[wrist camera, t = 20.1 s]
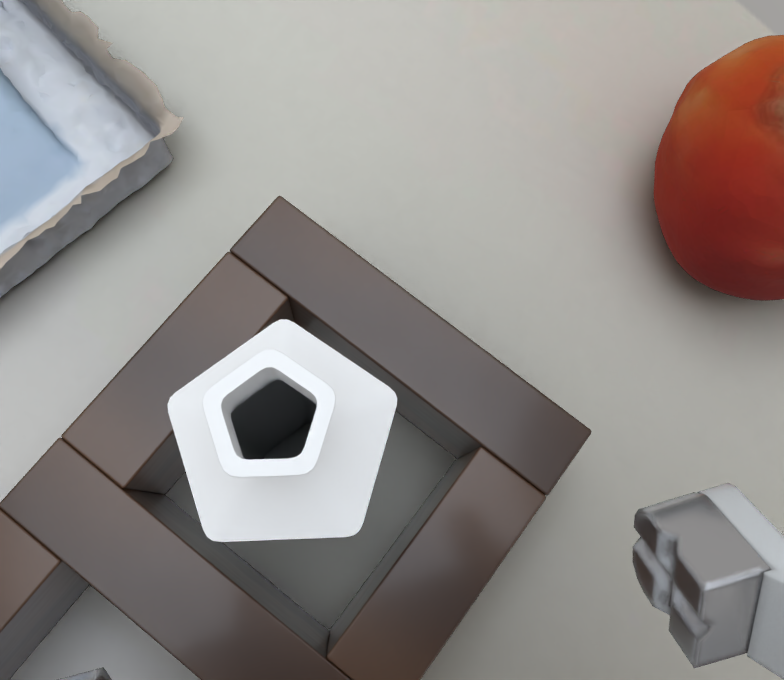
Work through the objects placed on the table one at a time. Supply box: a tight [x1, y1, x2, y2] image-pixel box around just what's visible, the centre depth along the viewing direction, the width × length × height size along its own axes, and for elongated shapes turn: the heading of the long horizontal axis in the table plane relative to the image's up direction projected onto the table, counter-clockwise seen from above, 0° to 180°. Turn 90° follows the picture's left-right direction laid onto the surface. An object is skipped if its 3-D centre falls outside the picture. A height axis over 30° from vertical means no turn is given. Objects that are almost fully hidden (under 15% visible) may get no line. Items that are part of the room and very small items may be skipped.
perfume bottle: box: [167, 319, 397, 542], centre depth 19 cm, size 5×4×15 cm
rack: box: [0, 196, 591, 680], centre depth 23 cm, size 22×12×5 cm, turn 142°
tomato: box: [654, 35, 784, 300], centre depth 26 cm, size 9×9×8 cm
